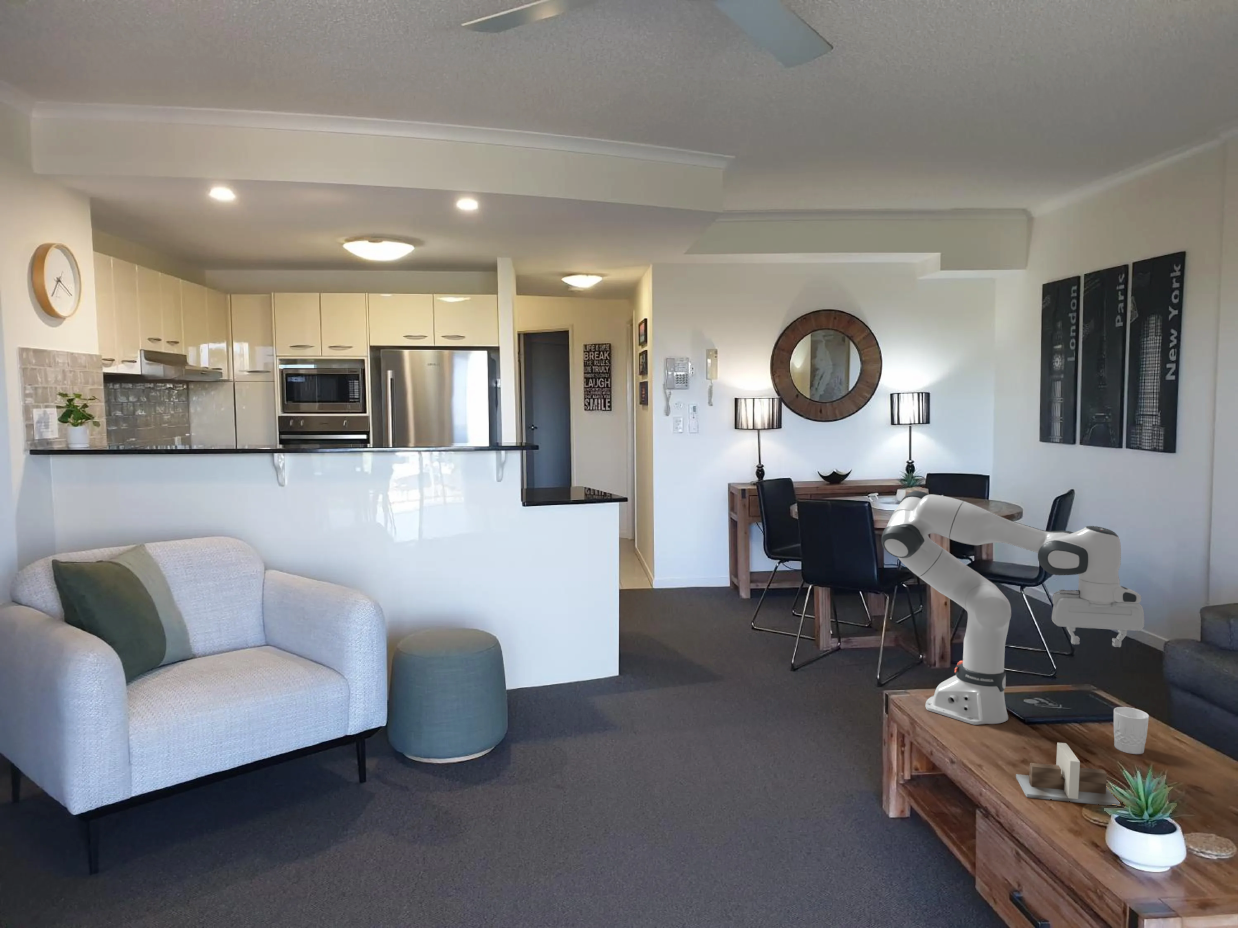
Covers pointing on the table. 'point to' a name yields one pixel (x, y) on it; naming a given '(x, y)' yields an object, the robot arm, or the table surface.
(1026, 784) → the base plate
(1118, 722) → the white cup
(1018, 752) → the table surface
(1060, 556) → the robot arm
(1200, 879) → the table surface
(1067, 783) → the upright cream slab
